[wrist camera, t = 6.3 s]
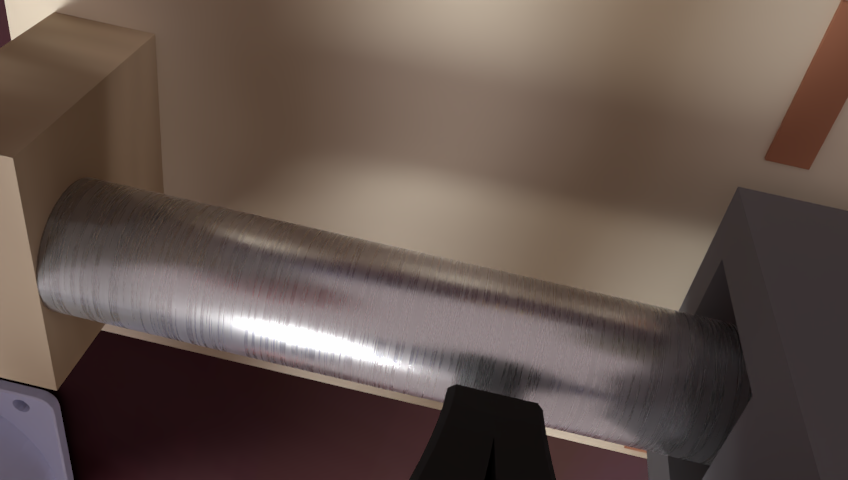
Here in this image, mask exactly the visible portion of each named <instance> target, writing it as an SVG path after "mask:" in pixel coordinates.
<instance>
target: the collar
mask: <svg viewBox="0 0 848 480" xmlns="http://www.w3.org/2000/svg"><path fill="white" fill-rule="evenodd" d="M679 311H680V312H685V313H689V314H693V315H698V316H702V317H706V318H711V319H715V320H720V321H724V322H728V323H733V324H737V328H738V333H739V337H740V342H741V346H742V351H743V355H744V360H745V364H746V369H747V373H748V378H749V382H750V387H751V391H752V398H751V399H750V401H749V403H748V404H747V406H746V408H745V409H744V411H743V413H742V414H741V416H740V418H739V419H738V421H737V422H736V424H735V426H734V427H733V429H732V431H731V432H730V434H729V436H728V437H727V439H726V441H725V442H724V444H723V445H722V447H721V449H720V450H719V452H718V454H717V455H716V457H715V459H714V460H713V462H712V464H711V465H710V466H709V465H705V464H701V463H697V462H692V461H688V460H684V459H680V458H675V457H671V456H667V455H663V454H658V453H654V452H650V451H647V463H648V476H649V480H848V211H846V210H842V209H837V208H833V207H828V206H824V205H819V204H814V203H810V202H805V201H801V200H796V199H792V198H787V197H783V196H778V195H774V194H769V193H765V192H760V191H756V190H751V189H747V188H742V187H737V190H736V192H735V194H734V196H733V198H732V200H731V202H730V204H729V206H728V208H727V211H726V213H725V215H724V217H723V219H722V221H721V223H720V225H719V227H718V229H717V232H716V234H715V236H714V238H713V240H712V242H711V244H710V246H709V248H708V250H707V252H706V255H705V257H704V259H703V261H702V263H701V265H700V267H699V269H698V271H697V273H696V276H695V278H694V280H693V282H692V284H691V286H690V288H689V290H688V292H687V294H686V297H685V299H684V301H683V303H682V305H681V307H680V309H679Z"/></svg>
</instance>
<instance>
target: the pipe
mask: <svg viewBox="0 0 848 480" xmlns="http://www.w3.org/2000/svg"><path fill="white" fill-rule="evenodd" d="M36 280H37V288H38V292H39V296H40V298H41V300H42V302H43V304H44V305H45V306H46V307H47V308H48V309H49V310H51V311H54V312H58V313H63V314H67V315H71V316H75V317H80V318H84V319H88V320H92V321H97V322H101V323H105V324H109V325H114V326H118V327H122V328H126V329H131V330H135V331H139V332H143V333H148V334H152V335H156V336H160V337H165V338H169V339H173V340H177V341H182V342H186V343H190V344H194V345H199V346H203V347H207V348H211V349H216V350H220V351H224V352H229V353H233V354H237V355H241V356H246V357H250V358H254V359H258V360H263V361H267V362H271V363H275V364H280V365H284V366H288V367H292V368H297V369H301V370H305V371H309V372H314V373H318V374H322V375H326V376H331V377H335V378H339V379H343V380H348V381H352V382H356V383H360V384H365V385H369V386H373V387H377V388H382V389H386V390H390V391H394V392H399V393H403V394H407V395H412V396H416V397H420V398H424V399H429V400H433V401H437V402H441V403H444V399H445V395H446V391H447V388H448V387H450V386H453V385H456V384H458V385H462V386H466V387H471V388H475V389H479V390H483V391H488V392H492V393H496V394H501V395H505V396H509V397H513V398H518V399H522V400H526V401H531V402H535V403H538V404H539V406H540V407H541V408H542V410H543V415H544V423H545V427H548V428H552V429H556V430H560V431H565V432H569V433H573V434H578V435H582V436H586V437H590V438H595V439H599V440H603V441H607V442H612V443H616V444H620V445H624V446H629V447H633V448H637V449H641V450H646V451H650V452H654V453H658V454H663V455H667V456H671V457H675V458H680V459H684V460H688V461H692V462H697V463H701V464H705V465H709V466H710V465H711V464H712V462H713V460H714V459H715V457H716V455H717V454H718V452H719V450H720V449H721V447H722V445H723V444H724V442H725V441H726V439H727V437H728V436H729V434H730V432H731V431H732V429H733V427H734V426H735V424H736V422H737V421H738V419H739V418H740V416H741V414H742V413H743V411H744V409H745V408H746V406H747V404H748V403H749V401H750V399H751V398H752V391H751V387H750V382H749V378H748V373H747V369H746V364H745V360H744V355H743V351H742V346H741V342H740V337H739V333H738V328H737V324H733V323H728V322H724V321H720V320H715V319H711V318H706V317H702V316H698V315H693V314H689V313H685V312H680V311H676V310H671V309H667V308H663V307H658V306H654V305H649V304H645V303H641V302H636V301H632V300H627V299H623V298H619V297H614V296H610V295H605V294H601V293H597V292H592V291H588V290H583V289H579V288H575V287H570V286H566V285H562V284H557V283H553V282H548V281H544V280H540V279H535V278H531V277H526V276H522V275H518V274H513V273H509V272H504V271H500V270H496V269H491V268H487V267H482V266H478V265H474V264H469V263H465V262H460V261H456V260H452V259H447V258H443V257H439V256H434V255H430V254H425V253H421V252H417V251H412V250H408V249H403V248H399V247H395V246H390V245H386V244H381V243H377V242H373V241H368V240H364V239H359V238H355V237H351V236H346V235H342V234H337V233H333V232H329V231H324V230H320V229H316V228H311V227H307V226H302V225H298V224H294V223H289V222H285V221H280V220H276V219H272V218H267V217H263V216H258V215H254V214H250V213H245V212H241V211H236V210H232V209H228V208H223V207H219V206H214V205H210V204H206V203H201V202H197V201H193V200H188V199H184V198H179V197H175V196H171V195H166V194H162V193H157V192H153V191H149V190H144V189H140V188H135V187H131V186H127V185H122V184H118V183H113V182H109V181H105V180H100V179H96V178H91V177H85V178H81V179H79V180H77V181H75V182H74V183H72V184H71V185H70V186H69V187H68V188H67V189H66V190H65V191H64V192H63V193H62V195H61V196H60V198H59V199H58V200H57V202H56V204H55V206H54V207H53V209H52V211H51V213H50V215H49V217H48V220H47V222H46V225H45V228H44V230H43V233H42V237H41V241H40V245H39V250H38V256H37V266H36Z"/></svg>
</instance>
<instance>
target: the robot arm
mask: <svg viewBox="0 0 848 480" xmlns="http://www.w3.org/2000/svg"><path fill="white" fill-rule="evenodd" d="M0 480H74V478H73V472H72V467H71V462H70V457H69V451H68V446H67V441H66V435H65V430H64V425H63V420H62V414H61V409H60V404H59V402H58V400H57V398H56V397H55V396H54V395H53V394H51V393H49V392H48V391H45V390H42V389H38V388H34V387H30V386H25V385H21V384H17V383H13V382H9V381H5V380H0ZM409 480H556V478H555V474H554V469H553V465H552V461H551V456H550V451H549V446H548V441H547V435H546V429H545V423H544V415H543V410H542V408H541V407H540V406H539V404H538V403H535V402H531V401H526V400H522V399H518V398H513V397H509V396H505V395H501V394H496V393H492V392H488V391H483V390H479V389H475V388H471V387H466V386H462V385H458V384H456V385H453V386H450V387H448V388H447V391H446V395H445V399H444V403H443V407H442V410H441V413H440V416H439V419H438V421H437V424H436V426H435V429H434V431H433V433H432V436H431V438H430V440H429V442H428V444H427V446H426V449H425V451H424V453H423V455H422V457H421V459H420V461H419V463H418V465H417V467H416V468H415V470H414V472H413V474H412V476H411V478H410V479H409Z"/></svg>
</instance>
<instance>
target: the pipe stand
mask: <svg viewBox="0 0 848 480" xmlns="http://www.w3.org/2000/svg"><path fill="white" fill-rule="evenodd" d="M5 6H6V12H7V18H8V23H9V29H10V35H11V41H10V42H9V43H7V44H6V45H4V46H3V47H1V48H0V377H1V378H5V379H9V380H14V381H18V382H22V383H26V384H30V385H35V386H39V387H43V388H47V389H51V390H55V391H57V390H58V389H59V387H60V386H61V385H62V383H63V382H64V380H65V379H66V378H67V376H68V375H69V374H70V372H71V371H72V369H73V368H74V367H75V365H76V364H77V363H78V361H79V360H80V358H81V357H82V356H83V354H84V353H85V351H86V350H87V349H88V347H89V346H90V345H91V343H92V342H93V340H94V339H95V338H96V336H97V335H98V333H99V332H100V331H101V330H103V331H107V332H111V333H115V334H120V335H124V336H128V337H132V338H137V339H141V340H145V341H149V342H154V343H158V344H162V345H166V346H171V347H175V348H179V349H183V350H188V351H192V352H196V353H200V354H205V355H209V356H213V357H217V358H222V359H226V360H230V361H234V362H239V363H243V364H247V365H251V366H256V367H260V368H264V369H268V370H273V371H277V372H281V373H285V374H290V375H294V376H298V377H302V378H307V379H311V380H315V381H319V382H324V383H328V384H332V385H336V386H341V387H345V388H349V389H353V390H358V391H362V392H366V393H370V394H375V395H379V396H383V397H387V398H392V399H396V400H400V401H404V402H409V403H413V404H417V405H421V406H426V407H430V408H434V409H438V410H442V407H443V403H441V402H437V401H433V400H429V399H424V398H420V397H416V396H412V395H407V394H403V393H399V392H394V391H390V390H386V389H382V388H377V387H373V386H369V385H365V384H360V383H356V382H352V381H348V380H343V379H339V378H335V377H331V376H326V375H322V374H318V373H314V372H309V371H305V370H301V369H297V368H292V367H288V366H284V365H280V364H275V363H271V362H267V361H263V360H258V359H254V358H250V357H246V356H241V355H237V354H233V353H229V352H224V351H220V350H216V349H211V348H207V347H203V346H199V345H194V344H190V343H186V342H182V341H177V340H173V339H169V338H165V337H160V336H156V335H152V334H148V333H143V332H139V331H135V330H131V329H126V328H122V327H118V326H114V325H109V324H105V323H101V322H97V321H92V320H88V319H84V318H80V317H75V316H71V315H67V314H63V313H58V312H54V311H51V310H49V309H48V308H47V307H46V306H45V305H44V304H43V302H42V300H41V298H40V296H39V292H38V288H37V280H36V266H37V256H38V250H39V245H40V241H41V237H42V233H43V230H44V228H45V225H46V222H47V220H48V217H49V215H50V213H51V211H52V209H53V207H54V206H55V204H56V202H57V200H58V199H59V198H60V196H61V195H62V193H63V192H64V191H65V190H66V189H67V188H68V187H69V186H70V185H71V184H72V183H74V182H75V181H77V180H79V179H81V178H85V177H91V178H96V179H100V180H105V181H109V182H113V183H118V184H122V185H127V186H131V187H135V188H140V189H144V190H149V191H153V192H157V193H162V194H166V195H171V196H175V197H179V198H184V199H188V200H193V201H197V202H201V203H206V204H210V205H214V206H219V207H223V208H228V209H232V210H236V211H241V212H245V213H250V214H254V215H258V216H263V217H267V218H272V219H276V220H280V221H285V222H289V223H294V224H298V225H302V226H307V227H311V228H316V229H320V230H324V231H329V232H333V233H337V234H342V235H346V236H351V237H355V238H359V239H364V240H368V241H373V242H377V243H381V244H386V245H390V246H395V247H399V248H403V249H408V250H412V251H417V252H421V253H425V254H430V255H434V256H439V257H443V258H447V259H452V260H456V261H460V262H465V263H469V264H474V265H478V266H482V267H487V268H491V269H496V270H500V271H504V272H509V273H513V274H518V275H522V276H526V277H531V278H535V279H540V280H544V281H548V282H553V283H557V284H562V285H566V286H570V287H575V288H579V289H583V290H588V291H592V292H597V293H601V294H605V295H610V296H614V297H619V298H623V299H627V300H632V301H636V302H641V303H645V304H649V305H654V306H658V307H663V308H667V309H671V310H676V311H679V309H680V307H681V305H682V303H683V301H684V299H685V297H686V294H687V292H688V290H689V288H690V286H691V284H692V282H693V280H694V278H695V276H696V273H697V271H698V269H699V267H700V265H701V263H702V261H703V259H704V257H705V255H706V252H707V250H708V248H709V246H710V244H711V242H712V240H713V238H714V236H715V234H716V232H717V229H718V227H719V225H720V223H721V221H722V219H723V217H724V215H725V213H726V211H727V208H728V206H729V204H730V202H731V200H732V198H733V196H734V194H735V192H736V190H737V187H742V188H747V189H751V190H756V191H760V192H765V193H769V194H774V195H778V196H783V197H787V198H792V199H796V200H801V201H805V202H810V203H814V204H819V205H824V206H828V207H833V208H837V209H842V210H846V211H848V0H5ZM545 429H546V435H549V436H553V437H557V438H562V439H566V440H570V441H574V442H579V443H583V444H587V445H591V446H596V447H600V448H604V449H608V450H613V451H617V452H621V453H625V454H630V455H634V456H638V457H642V458H647V451H646V450H641V449H637V448H633V447H629V446H624V445H620V444H616V443H612V442H607V441H603V440H599V439H595V438H590V437H586V436H582V435H578V434H573V433H569V432H565V431H560V430H556V429H552V428H548V427H545Z"/></svg>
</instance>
